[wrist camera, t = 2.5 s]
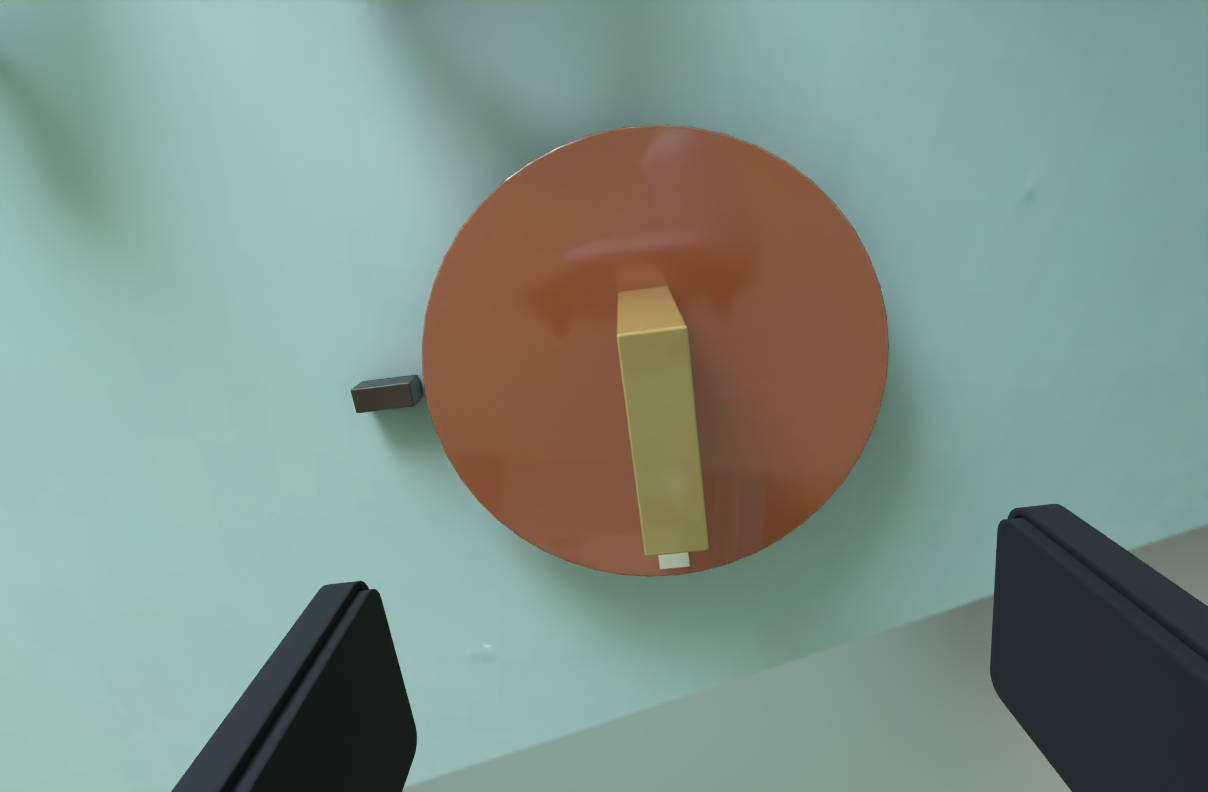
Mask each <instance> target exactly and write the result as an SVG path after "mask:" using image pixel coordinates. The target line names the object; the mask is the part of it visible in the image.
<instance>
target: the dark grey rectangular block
mask: <svg viewBox="0 0 1208 792" xmlns="http://www.w3.org/2000/svg"><path fill="white" fill-rule="evenodd" d="M351 394H352V397H353V401H354V405H355V409H356V412H357V413H362V412H371V411H379V410H387V409H396V408H404V407H412V406H415V405H416V404H417V403H418V402H419V400H420V399H421V398H422V397H423V396H422V392H421V387H420V383H419V379H418V375H411V376H403V377H395V378H387V379H379V380H371V381H363V382H361V383H359V384H358V385H357V386H355V387H354V388H353V389H351Z"/></svg>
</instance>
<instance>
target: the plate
mask: <svg viewBox="0 0 1208 792" xmlns="http://www.w3.org/2000/svg"><path fill="white" fill-rule="evenodd" d="M888 350H889V343H888V329H887V316H886V311H885V306H884V302H883V297H882V292H881V288H880V284H879V282H878V279H877V276H876V273H875V271H874V268H873V265H872V263H871V260H870V257H869V255H868V253H867V252H866V250H865V248H864V246H863V244H862V242H861V241H860V239H859V237H858V235H857V233H856V231H855V230H854V228H853V227H852V225H851V224H850V223H849V221H848V220H847V219H846V217H845V216H844V215H843V213H842V212H841V211H840V209H839V208H838V207H837V205H836V204H835V203H834V202H833V201H832V200H831V199H830V198H829V197H828V196H827V195H826V194H825V193H824V192H823V191H822V190H821V189H820V188H819V187H818V186H817V185H816V184H815V183H814V182H813V181H812V180H810V179H809V178H808V177H806V176H805V175H804V174H802V173H801V172H800V171H798V170H797V169H796V168H794V167H793V166H792V165H790V164H789V163H788V162H786V161H784V160H783V159H781V158H779V157H777V156H775V155H773V154H772V153H770V152H768V151H766V150H764V149H762V148H760V147H759V146H757V145H754V144H751V143H748V142H746V141H743V140H740V139H738V138H735V137H732V136H729V135H727V134H723V133H718V132H713V131H709V130H704V129H699V128H695V127H685V126H670V125H648V126H634V127H623V128H618V129H614V130H609V131H605V132H600V133H595V134H591V135H588V136H586V137H583V138H580V139H577V140H575V141H572V142H569V143H567V144H564V145H561V146H559V147H557V148H555V149H553V150H551V151H549V152H548V153H546V154H544V155H542V156H540V157H538V158H536V159H535V160H533V161H531V162H529V163H528V164H526V165H525V166H524V167H522V168H521V169H520V170H518V171H517V172H516V173H514V174H513V175H511V176H510V177H509V178H507V179H506V180H505V181H503V182H502V183H501V184H500V185H499V186H498V187H497V188H496V189H495V190H494V191H493V192H492V193H491V194H490V195H489V196H488V197H487V198H486V199H485V200H484V201H483V202H482V203H481V204H480V205H479V206H478V207H477V208H476V210H475V211H474V212H473V214H472V215H471V216H470V217H469V219H468V220H467V221H466V223H465V224H464V225H463V226H462V228H461V229H460V231H459V232H458V234H457V236H456V237H455V239H454V241H453V243H452V244H451V246H450V248H449V250H448V251H447V253H446V255H445V256H444V259H443V261H442V264H441V266H440V269H439V271H438V274H437V276H436V278H435V281H434V283H433V286H432V290H431V294H430V298H429V302H428V306H427V310H426V314H425V321H424V330H423V339H422V374H423V380H424V386H425V393H426V399H427V404H428V407H429V411H430V414H431V417H432V421H433V424H434V427H435V430H436V433H437V435H438V437H439V439H440V442H441V444H442V446H443V448H444V451H445V453H446V455H447V457H448V458H449V460H450V462H451V463H452V465H453V467H454V468H455V470H456V472H457V473H458V475H459V477H460V478H461V480H462V481H463V482H464V483H465V485H466V486H467V487H468V488H469V490H470V491H471V492H472V494H473V495H474V496H475V497H476V499H477V500H478V501H479V502H480V503H481V504H482V505H483V506H484V507H485V508H486V509H487V510H488V511H489V512H490V513H491V514H492V515H493V516H494V517H495V518H496V519H497V520H499V521H500V522H501V523H503V524H504V525H505V526H506V527H508V528H509V529H510V530H512V531H513V532H514V533H516V534H517V535H518V536H520V537H521V538H523V539H525V540H526V541H528V542H530V543H531V544H533V545H535V546H536V547H538V548H540V549H542V550H543V551H545V552H548V553H550V554H552V555H555V556H557V557H559V558H561V559H564V560H566V561H568V562H571V563H575V564H578V565H581V566H584V567H588V568H591V569H594V570H600V571H605V572H610V573H616V574H622V575H636V576H668V575H680V574H686V573H692V572H699V571H704V570H708V569H711V568H715V567H718V566H722V565H726V564H729V563H732V562H734V561H737V560H739V559H742V558H744V557H747V556H749V555H752V554H754V553H756V552H758V551H760V550H762V549H763V548H765V547H767V546H769V545H771V544H773V543H774V542H776V541H778V540H780V539H781V538H783V537H784V536H785V535H787V534H788V533H790V532H791V531H793V530H794V529H795V528H797V527H798V526H800V525H801V524H802V523H804V522H805V521H806V520H807V519H808V518H809V517H810V516H811V515H812V514H813V513H815V512H816V511H817V510H818V509H819V508H820V507H821V506H822V505H823V504H824V503H825V502H826V501H827V500H828V499H829V498H830V496H831V495H832V494H833V493H834V492H835V491H836V489H837V488H838V487H839V486H840V485H841V484H842V482H843V481H844V479H845V478H846V476H847V475H848V473H849V472H850V470H851V469H852V467H853V466H854V465H855V463H856V462H857V460H858V458H859V456H860V454H861V452H862V450H863V448H864V446H865V444H866V442H867V440H868V438H869V436H870V434H871V432H872V429H873V426H874V424H875V421H876V418H877V415H878V412H879V409H880V406H881V402H882V397H883V392H884V387H885V382H886V378H887V365H888Z"/></svg>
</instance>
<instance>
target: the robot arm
mask: <svg viewBox="0 0 1208 792" xmlns="http://www.w3.org/2000/svg"><path fill="white" fill-rule="evenodd" d="M990 674H991V679H992V683H993V686H994V688H995V690H996V692H997V694H998V696H999V697H1000V699H1001V700H1002V702H1003V703H1004V704H1005V705H1006V707H1007V708H1008V709H1009V711H1010V712H1011V713H1012V715H1013V716H1014V717H1015V718H1016V720H1017V721H1018V722H1019V724H1020V725H1021V726H1022V727H1023V729H1024V730H1025V731H1026V733H1027V734H1028V735H1029V736H1030V738H1031V739H1032V740H1033V742H1034V743H1035V744H1036V746H1037V747H1038V748H1039V750H1040V751H1041V752H1042V753H1043V754H1044V756H1045V757H1046V758H1047V760H1048V761H1049V763H1050V764H1051V765H1052V766H1053V768H1054V769H1055V770H1056V772H1057V773H1058V774H1059V775H1060V777H1061V778H1062V779H1063V781H1064V782H1065V783H1066V784H1067V786H1068V787H1069V788H1070V790H1071V791H1072V792H1208V606H1206V605H1205V604H1203V603H1202V602H1201V601H1199V600H1198V599H1196V598H1195V597H1193V596H1192V595H1190V594H1189V593H1188V592H1186V591H1185V590H1183V589H1182V588H1180V587H1179V586H1178V585H1176V584H1175V583H1173V582H1172V581H1170V580H1169V579H1167V578H1166V577H1164V576H1163V575H1162V574H1160V573H1159V572H1157V571H1155V570H1154V569H1153V568H1151V567H1150V566H1149V565H1147V564H1145V563H1144V562H1143V561H1141V560H1140V559H1138V558H1137V557H1136V556H1134V555H1133V554H1131V553H1130V552H1128V551H1127V550H1125V549H1124V548H1122V547H1121V546H1120V545H1118V544H1117V543H1115V542H1114V541H1112V540H1111V539H1109V538H1108V537H1107V536H1105V535H1104V534H1102V533H1101V532H1099V531H1098V530H1096V529H1095V528H1094V527H1092V526H1091V525H1089V524H1088V523H1086V522H1085V521H1083V520H1082V519H1080V518H1079V517H1078V516H1076V515H1075V514H1073V513H1072V512H1070V511H1069V510H1067V509H1066V508H1065V507H1063V506H1061V505H1058V504H1049V505H1040V506H1031V507H1022V508H1015V509H1013V510H1012V511H1011V512H1010V514H1009V516H1008V519H1004V520H1002V521H1001V522H1000V523H999V525H998V532H997V550H996V569H995V588H994V607H993V625H992V644H991V664H990ZM416 745H417V732H416V726H415V722H414V719H413V715H412V711H411V707H410V704H409V700H408V696H407V693H406V689H405V685H404V681H403V678H402V674H401V670H400V667H399V663H398V659H397V655H396V652H395V648H394V644H393V641H392V637H391V633H390V629H389V626H388V622H387V618H386V614H385V611H384V607H383V603H382V600H381V597H380V594H379V592H378V591H377V590H375V589H370V590H369V588H368V586H367V585H366V584H365V583H364V582H362V581H356V582H347V583H338V584H329V585H324V586H323V587H322V588H321V589H320V590H319V591H318V592H317V594H316V595H315V596H314V598H313V599H312V600H311V602H310V603H309V605H308V606H307V607H306V609H305V610H304V611H303V613H302V614H301V616H300V617H299V618H298V620H297V621H296V622H295V624H294V625H293V626H292V628H291V629H290V631H289V632H288V633H287V635H286V636H285V637H284V639H283V640H282V641H281V643H280V644H279V646H278V647H277V648H276V650H275V651H274V652H273V654H272V655H271V656H270V658H269V659H268V661H267V662H266V663H265V665H264V666H263V667H262V669H261V670H260V671H259V673H258V674H257V676H256V677H255V678H254V680H253V681H252V682H251V684H250V685H249V686H248V688H247V689H246V691H245V692H244V693H243V695H242V696H241V697H240V699H239V700H238V702H237V703H236V704H235V706H234V707H233V708H232V710H231V711H230V712H229V714H228V715H227V717H226V718H225V719H224V721H223V722H222V723H221V725H220V726H219V727H218V729H217V730H216V732H215V733H214V734H213V736H212V737H211V738H210V740H209V741H208V742H207V744H206V745H205V747H204V748H203V749H202V751H201V752H200V753H199V755H198V756H197V757H196V759H195V760H194V762H193V763H192V764H191V766H190V767H189V768H188V770H187V771H186V772H185V774H184V775H183V777H182V778H181V779H180V781H179V782H178V783H177V785H176V786H175V787H174V789H173V790H172V792H402V790H403V787H404V784H405V781H406V779H407V776H408V773H409V770H410V767H411V764H412V761H413V758H414V755H415V751H416Z"/></svg>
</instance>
